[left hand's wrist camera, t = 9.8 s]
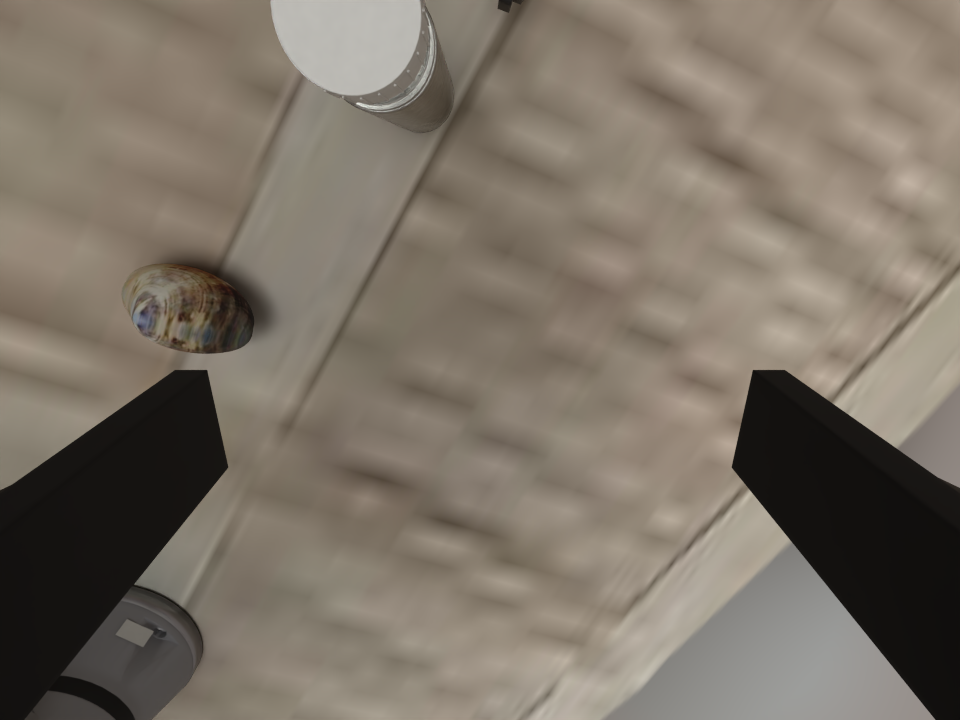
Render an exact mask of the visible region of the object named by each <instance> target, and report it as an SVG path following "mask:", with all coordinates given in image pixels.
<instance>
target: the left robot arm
mask: <svg viewBox="0 0 960 720" xmlns="http://www.w3.org/2000/svg"><path fill="white" fill-rule="evenodd" d="M227 468H228V464H227V459H226V455H225V450H224V446H223V441H222V436H221V432H220V427H219V423H218V418H217V414H216V409H215V404H214V400H213V395H212V391H211V386H210V381H209V377H208V372H207V370H175V371H173V372H172V373H170V374H169V375H168V376H166V377H165V378H163V379H162V380H160V381H159V382H158V383H156V384H155V385H153V386H152V387H150V388H149V389H148V390H146V391H145V392H143V393H142V394H140V395H139V396H138V397H136V398H135V399H133V400H132V401H131V402H129V403H128V404H126V405H125V406H123V407H122V408H121V409H119V410H118V411H116V412H115V413H113V414H112V415H111V416H109V417H108V418H106V419H105V420H103V421H102V422H101V423H99V424H98V425H96V426H95V427H94V428H92V429H91V430H89V431H88V432H86V433H85V434H84V435H82V436H81V437H79V438H78V439H76V440H75V441H74V442H72V443H71V444H69V445H68V446H66V447H65V448H64V449H62V450H61V451H59V452H58V453H57V454H55V455H54V456H52V457H51V458H49V459H48V460H47V461H45V462H44V463H42V464H41V465H39V466H38V467H37V468H35V469H34V470H32V471H31V472H30V473H28V474H27V475H25V476H24V477H22V478H21V479H20V480H18V481H17V482H15V483H14V484H12V485H10V486H8V487H6V488H4V489H2V490H0V720H152V719H153V718H154V717H155V716H156V715H157V714H158V713H159V712H160V711H161V710H162V709H163V708H164V707H165V706H166V705H167V704H168V703H169V702H170V701H171V700H172V699H173V698H174V697H175V695H176V694H177V693H178V692H179V691H180V690H181V689H183V688H184V687H185V686H186V684H187V683H188V682H189V680H190V678H191V677H192V675H193V673H194V671H195V669H196V667H197V666H198V664H199V662H200V659H201V656H202V640H201V636H200V634H199V631H198V629H197V627H196V626H195V624H194V623H193V621H192V620H191V619H190V618H189V617H188V615H187V614H186V613H185V612H184V611H182V610H181V609H180V608H179V607H178V606H176V605H175V604H174V603H172V602H170V601H169V600H167V599H165V598H164V597H162V596H160V595H157V594H155V593H153V592H150V591H148V590H144V589H141V588H137V587H133V585H134V583H135V582H136V581H137V580H138V579H139V577H140V576H141V575H142V574H143V572H144V571H145V570H146V569H147V567H148V566H149V565H150V564H151V562H152V561H153V560H154V559H155V558H156V556H157V555H158V554H159V553H160V551H161V550H162V549H163V548H164V546H165V545H166V544H167V543H168V541H169V540H170V539H171V538H172V536H173V535H174V534H175V533H176V532H177V530H178V529H179V528H180V527H181V525H182V524H183V523H184V522H185V520H186V519H187V518H188V517H189V515H190V514H191V513H192V512H193V510H194V509H195V508H196V507H197V506H198V504H199V503H200V502H201V501H202V499H203V498H204V497H205V496H206V494H207V493H208V492H209V491H210V489H211V488H212V487H213V486H214V484H215V483H216V482H217V481H218V480H219V478H220V477H221V476H222V475H223V473H224V472H225V471H226V470H227ZM732 468H733V470H734V471H735V472H736V473H737V475H738V476H739V477H740V478H741V480H742V481H743V482H744V483H745V484H746V486H747V487H748V488H749V489H750V491H751V492H752V493H753V494H754V496H755V497H756V498H757V499H758V501H759V502H760V503H761V504H762V506H763V507H764V508H765V509H766V510H767V512H768V513H769V514H770V515H771V517H772V518H773V519H774V520H775V522H776V523H777V524H778V525H779V527H780V528H781V529H782V530H783V532H784V533H785V534H786V535H787V536H788V538H789V539H790V540H791V541H792V543H793V544H794V545H795V546H796V548H797V549H798V550H799V551H800V552H801V554H802V555H803V556H804V557H805V559H806V560H807V561H808V562H809V564H810V565H811V566H812V567H813V569H814V570H815V571H816V572H817V574H818V575H819V576H820V577H821V579H822V580H823V581H824V582H825V583H826V585H827V586H828V587H829V588H830V590H831V591H832V592H833V593H834V595H835V596H836V597H837V598H838V600H839V601H840V602H841V603H842V604H843V606H844V607H845V608H846V609H847V611H848V612H849V613H850V614H851V616H852V617H853V618H854V619H855V621H856V622H857V623H858V624H859V625H860V627H861V628H862V629H863V631H864V632H865V633H866V634H867V635H868V637H869V638H870V639H871V640H872V642H873V643H874V644H875V645H876V647H877V648H878V649H879V650H880V652H881V653H882V654H883V655H884V657H885V658H886V659H887V660H888V661H889V663H890V664H891V665H892V666H893V668H894V669H895V670H896V671H897V673H898V674H899V675H900V676H901V678H902V679H903V680H904V681H905V683H906V684H907V685H908V686H909V687H910V689H911V690H912V691H913V692H914V694H915V695H916V696H917V697H918V699H919V700H920V701H921V702H922V704H923V705H924V706H925V707H926V709H927V710H928V711H929V712H930V713H931V715H932V716H933V717H934V718H935V720H960V488H959V487H957V486H954V485H952V484H950V483H948V482H946V481H944V480H942V479H940V478H938V477H936V476H935V475H933V474H932V473H930V472H929V471H928V470H926V469H925V468H923V467H922V466H920V465H919V464H918V463H916V462H915V461H913V460H912V459H911V458H909V457H908V456H906V455H905V454H903V453H902V452H901V451H899V450H898V449H896V448H895V447H894V446H892V445H891V444H889V443H888V442H886V441H885V440H884V439H882V438H881V437H879V436H878V435H876V434H875V433H874V432H872V431H871V430H869V429H868V428H866V427H865V426H864V425H862V424H861V423H859V422H858V421H857V420H855V419H854V418H852V417H851V416H849V415H848V414H847V413H845V412H844V411H842V410H841V409H839V408H838V407H837V406H835V405H834V404H832V403H831V402H829V401H828V400H827V399H825V398H824V397H822V396H821V395H820V394H818V393H817V392H815V391H814V390H812V389H811V388H810V387H808V386H807V385H805V384H804V383H802V382H801V381H800V380H798V379H797V378H795V377H794V376H792V375H791V374H790V373H788V372H787V371H785V370H753V372H752V377H751V381H750V386H749V391H748V395H747V400H746V404H745V409H744V414H743V418H742V423H741V427H740V432H739V436H738V441H737V446H736V450H735V455H734V459H733V464H732Z"/></svg>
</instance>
